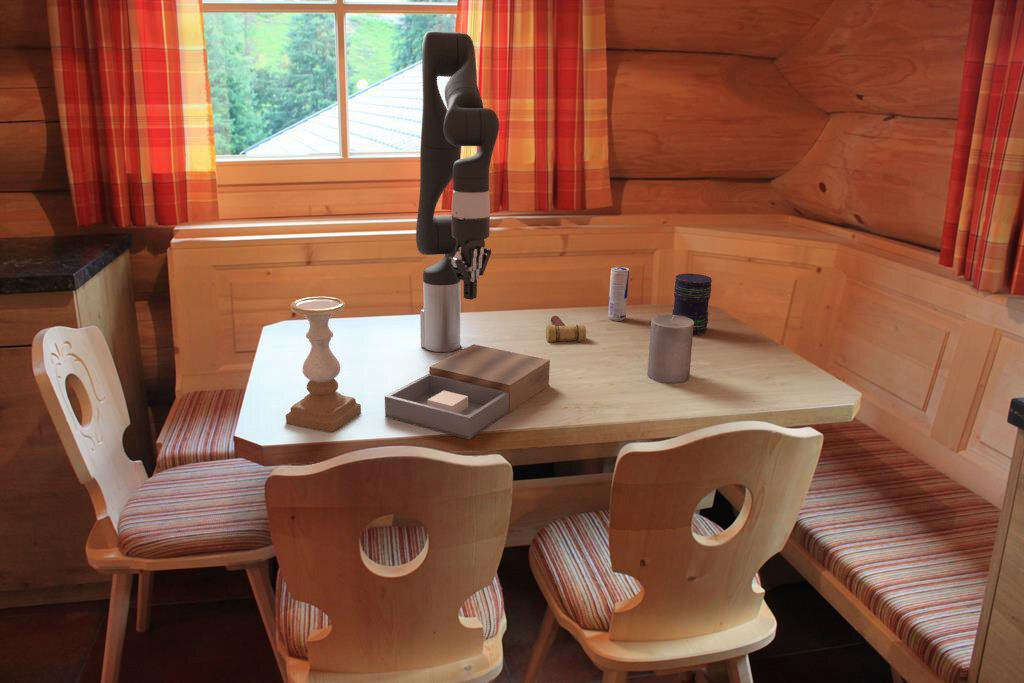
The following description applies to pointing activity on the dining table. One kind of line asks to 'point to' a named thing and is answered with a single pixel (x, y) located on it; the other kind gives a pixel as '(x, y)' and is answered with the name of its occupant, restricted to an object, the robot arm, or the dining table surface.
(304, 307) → the candle holder
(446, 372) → the brown wooden box
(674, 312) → the storage jar
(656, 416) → the dining table surface
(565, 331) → the gavel
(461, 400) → the tile
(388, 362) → the dining table surface
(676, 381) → the pillar candle
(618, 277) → the beverage can
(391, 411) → the box
